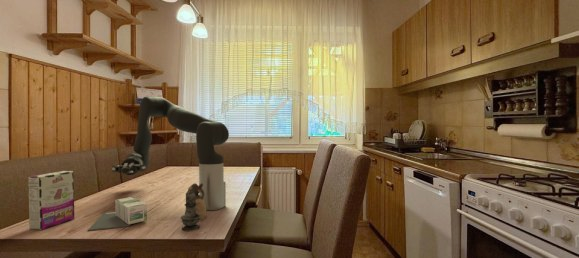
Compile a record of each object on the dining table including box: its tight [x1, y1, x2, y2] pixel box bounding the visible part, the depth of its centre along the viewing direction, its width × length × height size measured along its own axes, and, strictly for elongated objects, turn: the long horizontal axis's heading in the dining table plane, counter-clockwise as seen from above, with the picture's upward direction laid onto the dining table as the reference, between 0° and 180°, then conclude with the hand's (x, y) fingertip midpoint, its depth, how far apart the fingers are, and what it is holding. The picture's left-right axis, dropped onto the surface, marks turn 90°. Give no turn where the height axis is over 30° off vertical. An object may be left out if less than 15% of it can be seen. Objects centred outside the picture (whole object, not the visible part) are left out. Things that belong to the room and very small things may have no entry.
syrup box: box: [114, 196, 148, 225], centre depth 98 cm, size 6×6×14 cm
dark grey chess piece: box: [180, 189, 201, 232], centre depth 90 cm, size 6×6×12 cm
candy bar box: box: [27, 170, 75, 231], centre depth 94 cm, size 11×5×16 cm, turn 168°
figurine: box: [184, 183, 207, 222], centre depth 99 cm, size 7×7×12 cm
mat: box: [87, 210, 131, 232], centre depth 98 cm, size 20×11×1 cm, turn 20°
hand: (125, 170), depth 114 cm, fingers closed
